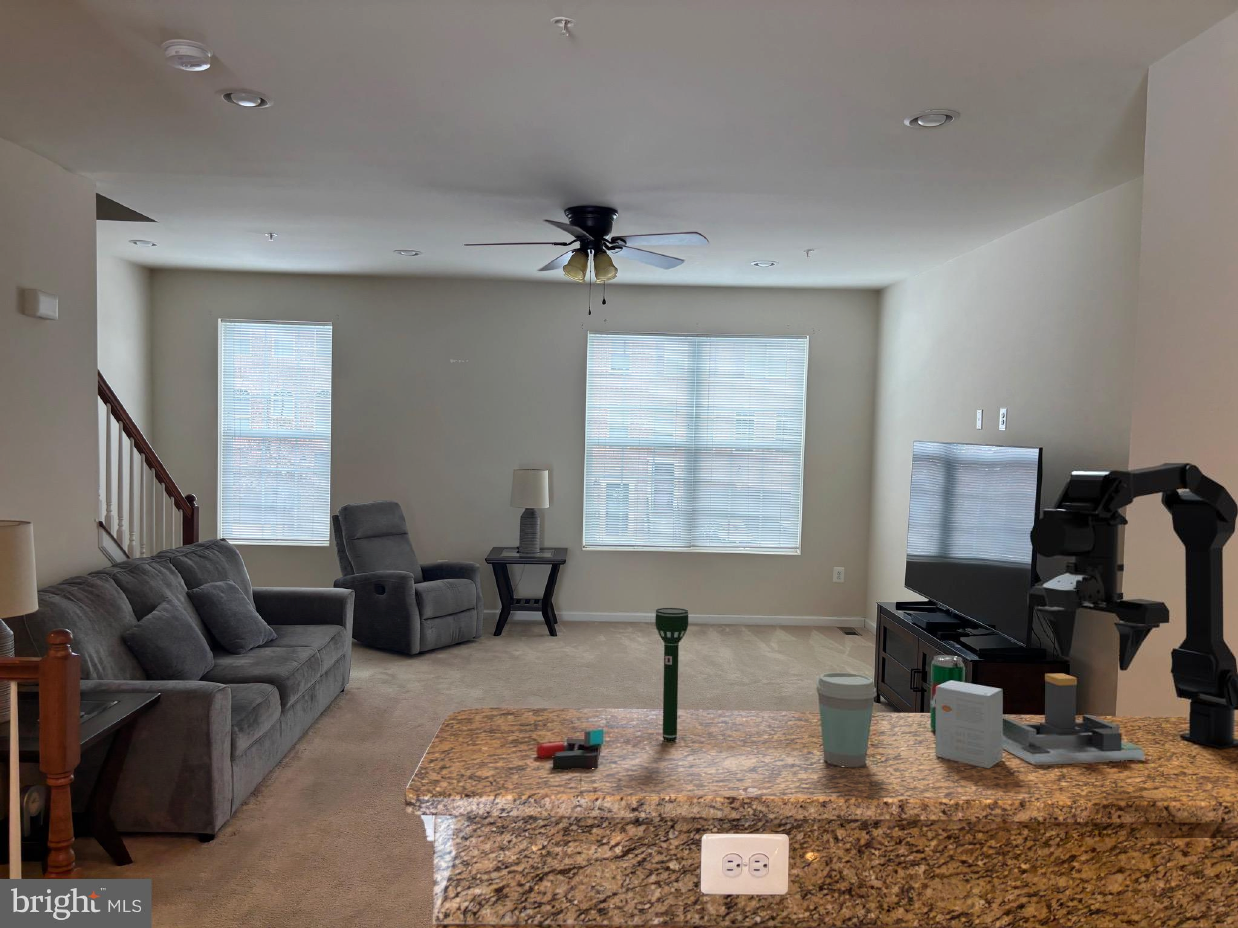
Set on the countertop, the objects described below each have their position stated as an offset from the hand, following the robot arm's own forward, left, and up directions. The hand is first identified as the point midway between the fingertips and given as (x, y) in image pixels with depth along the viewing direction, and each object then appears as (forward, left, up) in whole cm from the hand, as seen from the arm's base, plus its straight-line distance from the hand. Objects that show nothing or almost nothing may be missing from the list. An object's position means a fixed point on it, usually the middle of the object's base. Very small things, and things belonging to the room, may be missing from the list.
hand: (1093, 663), depth 127 cm
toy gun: (+69, -32, -15) cm, 77 cm away
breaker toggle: (-2, -7, -13) cm, 15 cm away
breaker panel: (-2, -7, -15) cm, 16 cm away
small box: (+15, -9, -15) cm, 23 cm away
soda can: (+8, -20, -15) cm, 26 cm away
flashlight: (+52, -33, -15) cm, 63 cm away
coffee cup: (+33, -15, -15) cm, 39 cm away
